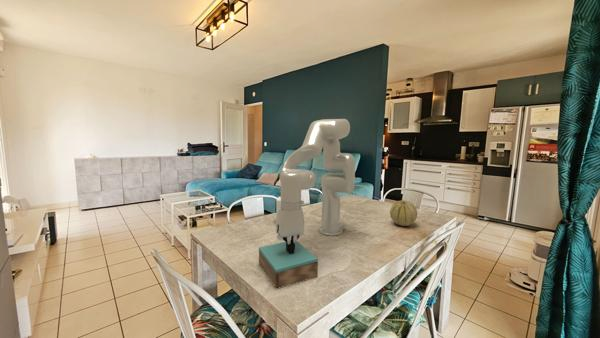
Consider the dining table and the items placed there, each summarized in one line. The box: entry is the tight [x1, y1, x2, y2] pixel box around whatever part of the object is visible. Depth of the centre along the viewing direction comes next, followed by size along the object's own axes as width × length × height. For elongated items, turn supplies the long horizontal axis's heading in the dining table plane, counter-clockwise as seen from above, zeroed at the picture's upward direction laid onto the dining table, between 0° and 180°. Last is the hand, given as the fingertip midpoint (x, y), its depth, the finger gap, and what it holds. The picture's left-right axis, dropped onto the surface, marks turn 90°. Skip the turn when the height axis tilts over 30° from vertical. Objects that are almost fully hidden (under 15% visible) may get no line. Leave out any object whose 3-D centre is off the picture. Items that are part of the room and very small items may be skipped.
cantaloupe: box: [389, 199, 418, 227], centre depth 142 cm, size 15×15×15 cm
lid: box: [258, 240, 319, 273], centre depth 92 cm, size 16×19×1 cm
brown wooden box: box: [258, 250, 319, 289], centre depth 93 cm, size 16×19×6 cm
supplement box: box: [275, 196, 281, 221], centre depth 143 cm, size 9×9×15 cm
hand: (290, 252), depth 92 cm, fingers closed
